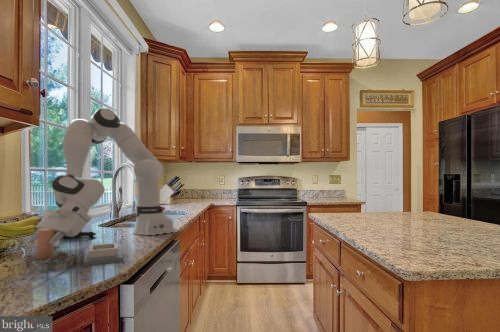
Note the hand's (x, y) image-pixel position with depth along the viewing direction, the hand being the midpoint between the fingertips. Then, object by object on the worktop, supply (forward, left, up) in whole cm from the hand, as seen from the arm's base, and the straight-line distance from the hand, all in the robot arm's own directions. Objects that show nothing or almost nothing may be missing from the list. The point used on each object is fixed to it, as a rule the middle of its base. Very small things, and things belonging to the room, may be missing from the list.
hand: (43, 242), depth 97 cm
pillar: (-1, 0, -5) cm, 5 cm away
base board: (-19, +9, -5) cm, 21 cm away
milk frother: (-9, -32, -6) cm, 34 cm away
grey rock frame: (-7, +13, -6) cm, 16 cm away
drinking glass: (-1, -16, -6) cm, 17 cm away
